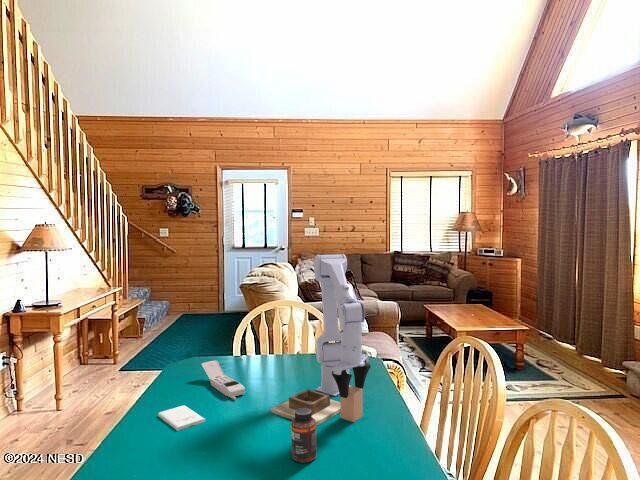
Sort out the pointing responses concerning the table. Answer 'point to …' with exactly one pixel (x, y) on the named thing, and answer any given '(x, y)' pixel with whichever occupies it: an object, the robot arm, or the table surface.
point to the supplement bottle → (303, 436)
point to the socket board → (309, 406)
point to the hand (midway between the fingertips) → (351, 392)
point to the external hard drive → (181, 417)
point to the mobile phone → (222, 380)
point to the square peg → (352, 404)
